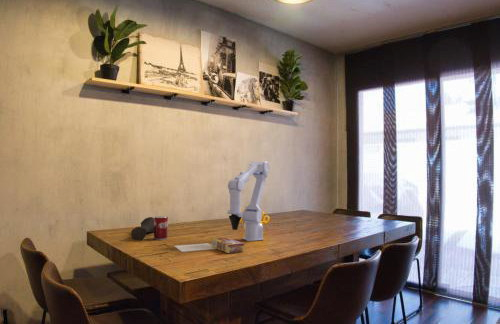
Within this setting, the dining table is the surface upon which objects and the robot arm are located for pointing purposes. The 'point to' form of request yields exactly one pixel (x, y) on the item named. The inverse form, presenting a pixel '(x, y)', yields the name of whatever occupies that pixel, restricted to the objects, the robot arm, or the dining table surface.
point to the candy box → (228, 245)
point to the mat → (194, 247)
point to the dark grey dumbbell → (143, 229)
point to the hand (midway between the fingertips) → (234, 229)
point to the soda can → (160, 227)
